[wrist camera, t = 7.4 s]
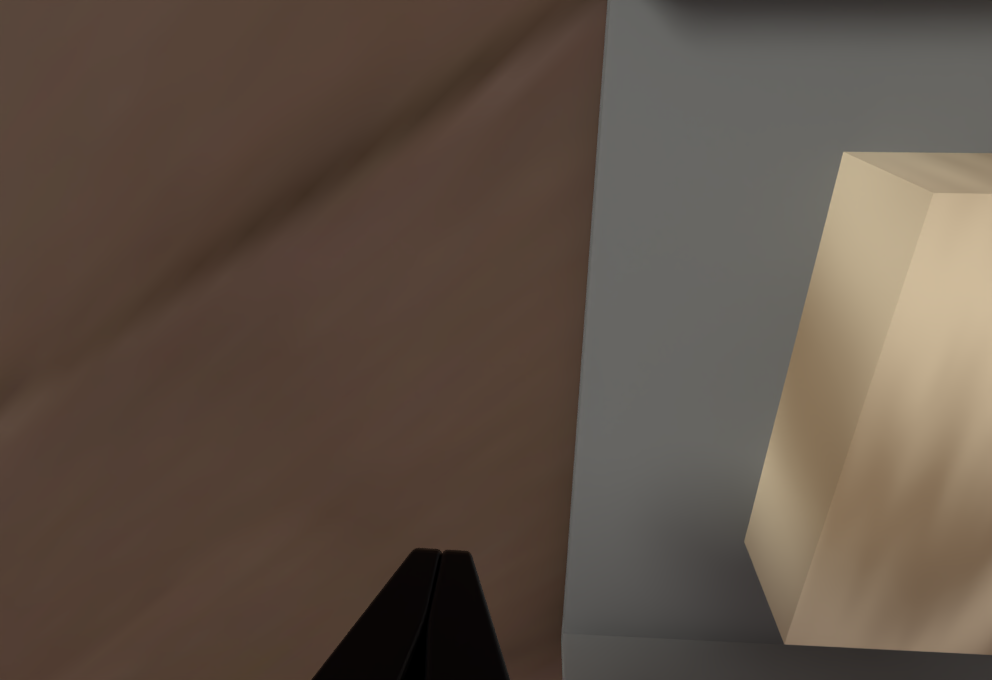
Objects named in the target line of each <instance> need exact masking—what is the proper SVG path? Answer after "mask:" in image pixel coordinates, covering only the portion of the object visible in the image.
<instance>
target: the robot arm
mask: <svg viewBox="0 0 992 680" xmlns="http://www.w3.org/2000/svg"><path fill="white" fill-rule="evenodd" d="M312 680H510V678H509V675H508V672H507V668H506V665H505V662H504V659H503V655H502V652H501V649H500V646H499V642H498V639H497V636H496V633H495V629H494V626H493V623H492V619H491V616H490V613H489V610H488V606H487V603H486V600H485V597H484V593H483V590H482V587H481V584H480V580H479V577H478V574H477V571H476V567H475V564H474V561H473V558H472V555H471V553H470V552H468V551H460V550H445V551H444V552H443V553H442V552H441V551H440V550H438V549H427V548H416V549H414V550H413V551H412V552H411V553H410V554H409V555H408V557H407V558H406V559H405V560H404V562H403V563H402V564H401V566H400V567H399V568H398V569H397V571H396V572H395V573H394V575H393V576H392V577H391V578H390V580H389V581H388V582H387V584H386V585H385V586H384V587H383V589H382V590H381V591H380V593H379V594H378V595H377V596H376V598H375V599H374V600H373V602H372V603H371V604H370V605H369V607H368V608H367V609H366V610H365V612H364V613H363V614H362V616H361V617H360V618H359V619H358V621H357V622H356V623H355V625H354V626H353V627H352V628H351V630H350V631H349V632H348V634H347V635H346V636H345V637H344V639H343V640H342V641H341V643H340V644H339V645H338V646H337V648H336V649H335V650H334V652H333V653H332V654H331V655H330V657H329V658H328V659H327V660H326V662H325V663H324V664H323V666H322V667H321V668H320V669H319V671H318V672H317V673H316V675H315V676H314V677H313V678H312Z"/></svg>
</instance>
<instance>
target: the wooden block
mask: <svg viewBox="0 0 992 680" xmlns="http://www.w3.org/2000/svg"><path fill="white" fill-rule="evenodd" d="M744 543H745V545H746V548H747V550H748V553H749V555H750V558H751V560H752V563H753V566H754V568H755V571H756V573H757V576H758V578H759V581H760V583H761V586H762V589H763V591H764V594H765V596H766V599H767V601H768V604H769V607H770V609H771V612H772V614H773V617H774V619H775V622H776V624H777V627H778V630H779V632H780V635H781V637H782V640H783V642H784V644H786V645H806V646H826V647H846V648H865V649H885V650H905V651H925V652H944V653H964V654H984V655H992V153H917V152H843V155H842V159H841V163H840V167H839V171H838V175H837V179H836V182H835V186H834V190H833V194H832V198H831V202H830V206H829V210H828V214H827V218H826V222H825V226H824V230H823V234H822V238H821V241H820V245H819V249H818V253H817V257H816V261H815V265H814V269H813V273H812V277H811V281H810V285H809V289H808V293H807V297H806V300H805V304H804V308H803V312H802V316H801V320H800V324H799V328H798V332H797V336H796V340H795V344H794V348H793V352H792V355H791V359H790V363H789V367H788V371H787V375H786V379H785V383H784V387H783V391H782V395H781V399H780V403H779V407H778V411H777V414H776V418H775V422H774V426H773V430H772V434H771V438H770V442H769V446H768V450H767V454H766V458H765V462H764V466H763V470H762V473H761V477H760V481H759V485H758V489H757V493H756V497H755V501H754V505H753V509H752V513H751V517H750V521H749V525H748V529H747V532H746V536H745V540H744Z"/></svg>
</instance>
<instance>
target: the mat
mask: <svg viewBox="0 0 992 680" xmlns="http://www.w3.org/2000/svg"><path fill="white" fill-rule="evenodd" d="M843 152H917V153H992V0H608V2H607V16H606V30H605V44H604V57H603V71H602V85H601V99H600V113H599V126H598V140H597V154H596V168H595V182H594V195H593V209H592V223H591V237H590V250H589V264H588V278H587V292H586V306H585V319H584V333H583V347H582V361H581V374H580V388H579V402H578V416H577V430H576V443H575V457H574V471H573V485H572V499H571V512H570V526H569V540H568V554H567V567H566V581H565V595H564V609H563V623H562V636H561V648H562V674H563V680H992V655H984V654H964V653H944V652H925V651H905V650H885V649H865V648H846V647H826V646H806V645H786V644H784V642H783V640H782V637H781V635H780V632H779V630H778V627H777V624H776V622H775V619H774V617H773V614H772V612H771V609H770V607H769V604H768V601H767V599H766V596H765V594H764V591H763V589H762V586H761V583H760V581H759V578H758V576H757V573H756V571H755V568H754V566H753V563H752V560H751V558H750V555H749V553H748V550H747V548H746V545H745V543H744V540H745V536H746V532H747V529H748V525H749V521H750V517H751V513H752V509H753V505H754V501H755V497H756V493H757V489H758V485H759V481H760V477H761V473H762V470H763V466H764V462H765V458H766V454H767V450H768V446H769V442H770V438H771V434H772V430H773V426H774V422H775V418H776V414H777V411H778V407H779V403H780V399H781V395H782V391H783V387H784V383H785V379H786V375H787V371H788V367H789V363H790V359H791V355H792V352H793V348H794V344H795V340H796V336H797V332H798V328H799V324H800V320H801V316H802V312H803V308H804V304H805V300H806V297H807V293H808V289H809V285H810V281H811V277H812V273H813V269H814V265H815V261H816V257H817V253H818V249H819V245H820V241H821V238H822V234H823V230H824V226H825V222H826V218H827V214H828V210H829V206H830V202H831V198H832V194H833V190H834V186H835V182H836V179H837V175H838V171H839V167H840V163H841V159H842V155H843Z"/></svg>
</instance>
